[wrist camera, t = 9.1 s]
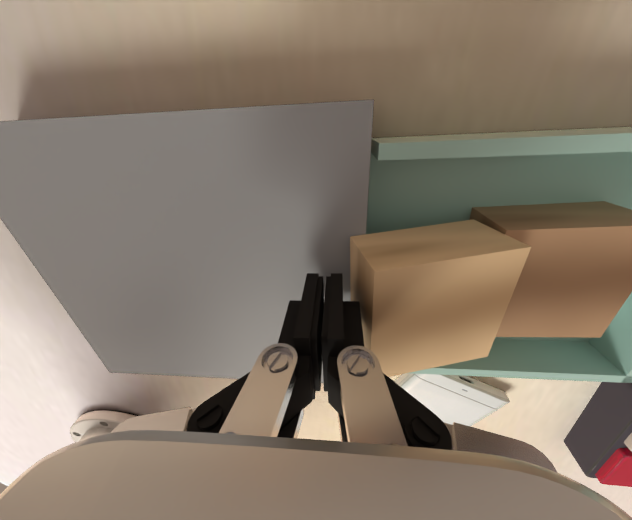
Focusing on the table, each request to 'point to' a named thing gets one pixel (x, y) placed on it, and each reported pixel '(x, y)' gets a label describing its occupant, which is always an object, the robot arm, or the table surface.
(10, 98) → the table surface
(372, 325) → the tile oak
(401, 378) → the hard drive
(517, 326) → the tile walnut
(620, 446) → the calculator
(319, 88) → the table surface
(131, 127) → the board
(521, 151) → the tray
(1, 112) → the table surface
